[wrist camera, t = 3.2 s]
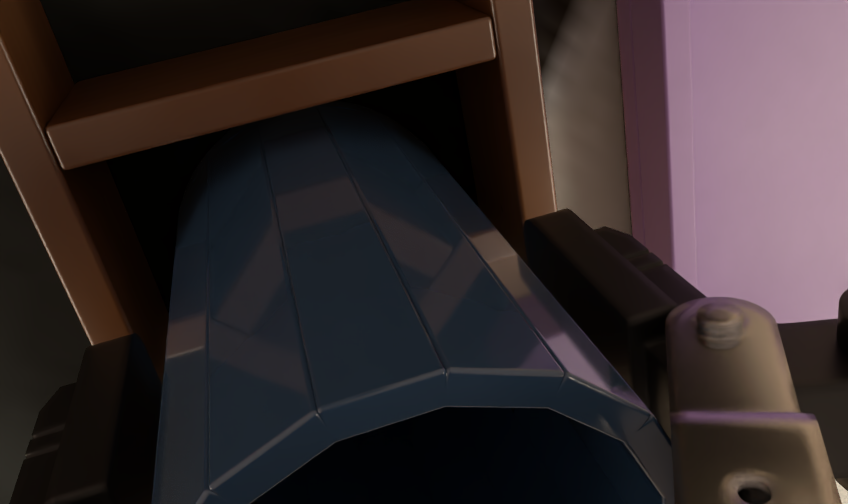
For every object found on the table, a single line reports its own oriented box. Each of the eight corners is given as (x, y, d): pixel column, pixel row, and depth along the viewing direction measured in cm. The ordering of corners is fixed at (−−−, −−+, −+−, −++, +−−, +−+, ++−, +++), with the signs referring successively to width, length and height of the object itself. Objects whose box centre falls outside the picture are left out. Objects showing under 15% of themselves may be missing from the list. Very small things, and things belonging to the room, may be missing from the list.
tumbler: (135, 141, 14) (31, 500, 6) (423, 67, 15) (692, 291, 7) (227, 380, 17) (246, 864, 8) (469, 307, 18) (704, 684, 9)
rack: (-211, -467, 10) (-364, -595, 7) (394, -553, 11) (453, -690, 8) (188, 443, 17) (184, 543, 15) (529, 336, 18) (582, 411, 16)
